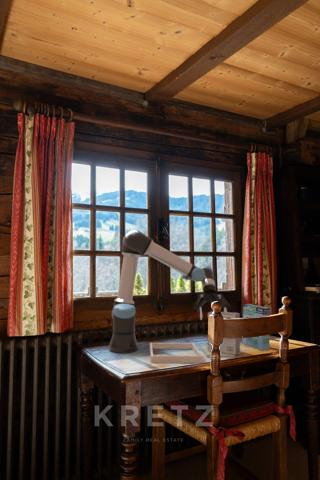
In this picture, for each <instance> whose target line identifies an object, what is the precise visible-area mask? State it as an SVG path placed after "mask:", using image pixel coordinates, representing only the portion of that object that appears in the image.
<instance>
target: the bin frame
mask: <svg viewBox="0 0 320 480" xmlns="http://www.w3.org/2000/svg"><path fill="white" fill-rule="evenodd" d="M154 350H192V351H193V353H194V354H195V355H154ZM149 355H150V363H152V364H154V363H155V364H157V363H158V364H163V363H166V364H168V363H169V364H170V363H171V364H173V363H174V364H175V363H176V364H177V363H178V364H181V363H183V364H185V363H186V364H190V363H191V364H194V363H195V364H197V363H198V364H199V363H200V364H202V363H203V355H202V353H201V352H200V351H199V349H198V348H197V346H196V344H195V343H194V342H149Z"/></svg>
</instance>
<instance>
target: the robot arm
mask: <svg viewBox="0 0 320 480" xmlns="http://www.w3.org/2000/svg"><path fill="white" fill-rule="evenodd" d="M121 248H122V249H121V254H122V255H123V258H122V265H121V272H120V279H119V286H118V293H117V297H116V298H115V299H114V301H113V308H112V310H111V319H112V336H111V339H110V342H109V345H108V349H109V350H108V351H110V352H113V353H116V354H117V353H118V354H119V353H122V354H123V353H125V354H126V353H134V352H137V351H138V350H139V344H138V341H137V338H136V332H135V331H136V307H135V301H134V300H133V296H134V292H135V290H134V289H135V282H136V278H137V269H138V264H139V258H140V257H142V255H147V256H149V257H151V258H153V259H155V260H157V261H158V262H160V263H161V264H163V265H166V266H167V267H169V268H171V269H173V270H175V271H176V272H178V273H180V278H181V279H182V280H185V281H188V280H189V281H192V282H193V281H194V282H197V283H198V282H201V287H202V288H201V289H202V294H201V293H200V292H199V293H198V296H197V298H196V300H195V302H194V304H193V305H194V306H193V309H194V310H197V314H198V315H199V318H200V320H201V321H202V320H203V311H202V307H203V306H204V305H205V304H206V303H207V302H208V303H215V302H214V301H218V302H220V303H221V304H222V307H221V308H222V309H223V312H229V310H231V306H232V305H231V304H230V303H229V301H228V300H227V299H226V298H225V296H224V295H223V293H220V294H218V293H217V288H216V282H215V278H214V272H213V268H212V267H211V266H210V265H202V266H201V267H198V266H196V265H194V264H193V263H191V262H189V261H187V260H185V259H184V258H182V257H180V256H178V255H177V254H175V253H173V252H171V251H170V250H168V249H166V248H164V247H163V246H161V245H159V244H157V243H156V242H155V241H154V240H153V239H152V238H151V237H150V236H147V235H146V234H145V233H143V232H141V231H140V230H138V229H137V230H136V229H133V230H130V231H129V232H127V233H126V234H125V235H124V236H123V238H122V247H121ZM202 298H203V300H202V301H201V299H202ZM200 301H201V302H200Z"/></svg>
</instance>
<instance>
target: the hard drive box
mask: <svg viewBox="0 0 320 480" xmlns="http://www.w3.org/2000/svg"><path fill="white" fill-rule="evenodd" d="M212 312H213V311H209V312H207V317H208V316H209V315H210V314H212ZM220 312H221V314H222V316H223V318H226V319H231V318H240V317H241V315H240V314H241V313H239V312H230V311H228V312H224V311H220ZM240 319H241V318H240ZM240 340H241V338H240V339H224V342H223V344H222V345H221V346H220V352H221V353H227V354H234V355H238V354H239V353H241V341H240ZM207 346H208V351H211V350H212V345H211V344H210V343H209V340H208V339H207Z"/></svg>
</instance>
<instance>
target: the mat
mask: <svg viewBox="0 0 320 480" xmlns="http://www.w3.org/2000/svg"><path fill="white" fill-rule="evenodd" d="M200 350H201V351H202V352H203V354H204V355H205V356H206V358H211V357H210V356H211V351H208V345H200ZM235 357H236V354H227V353H221V357H220V358H235Z"/></svg>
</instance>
